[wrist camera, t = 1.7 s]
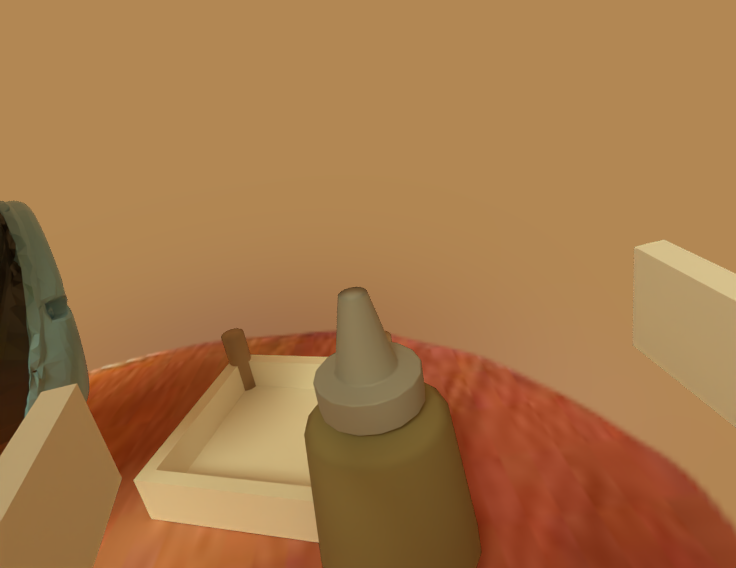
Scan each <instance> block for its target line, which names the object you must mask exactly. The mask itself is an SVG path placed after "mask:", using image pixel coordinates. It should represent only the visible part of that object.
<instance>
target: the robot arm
mask: <svg viewBox="0 0 736 568" xmlns="http://www.w3.org/2000/svg"><path fill="white" fill-rule="evenodd" d="M633 298H634V300H633V346H634V347H636V348H637V349H638V350H639V351H641V352H642V353H643V354H644V355H646V356H647V357H648V358H649V359H651V360H652V361H653V362H654V363H656V364H657V365H658V366H659V367H661V368H662V369H663V370H664V371H666V372H667V373H668V374H669V375H671V376H672V377H673V378H675V379H676V380H677V381H678V382H679V383H681V384H682V385H683V386H684V387H686V388H687V389H688V390H690V391H691V392H692V393H693V394H694V395H696V396H697V397H698V398H699V399H701V400H702V401H703V402H704V403H706V404H707V405H708V406H710V407H711V408H712V409H713V410H714V411H716V412H717V413H718V414H719V415H721V416H722V417H723V418H725V419H726V420H727V421H728V422H729V423H731V424H732V425H733V426H734V427H736V274H735V273H733V272H731V271H729V270H726V269H725V268H722V267H720V266H718V265H716V264H714V263H712V262H710V261H708V260H706V259H704V258H701V257H699V256H697V255H695V254H693V253H691V252H689V251H687V250H685V249H683V248H680V247H678V246H676V245H674V244H672V243H670V242H668V241H666V240H661V241H657V242H652V243H648V244H645V245H640V246H636V247H634V297H633ZM88 395H89V376H88V370H87V365H86V360H85V356H84V352H83V348H82V344H81V340H80V336H79V333H78V329H77V326H76V323H75V320H74V317H73V314H72V312H71V310H70V308H69V307H68V306H67V297H66V294H65V291H64V288H63V283H62V279H61V276H60V274H59V270H58V268H57V265H56V263H55V260H54V257H53V254H52V252H51V249H50V247H49V245H48V242H47V240H46V237H45V235H44V233H43V231H42V228H41V226H40V224H39V222H38V221H37V219H36V217H35V215H34V213H33V212H32V210H31V209H30V208H29V207H28V206H27V205H26V204H24V203H22V202H18V201H8V202H4V201H0V568H93V566H94V563H95V560H96V557H97V554H98V551H99V548H100V545H101V542H102V539H103V535H104V532H105V529H106V526H107V523H108V520H109V517H110V514H111V511H112V508H113V505H114V502H115V498H116V495H117V492H118V489H119V486H120V483H121V480H122V477H121V475H120V473H119V471H118V469H117V466H116V464H115V462H114V460H113V458H112V456H111V454H110V452H109V450H108V448H107V445H106V443H105V441H104V439H103V437H102V435H101V433H100V431H99V429H98V426H97V424H96V422H95V420H94V418H93V416H92V414H91V412H90V410H89V407H88V405H87V403H86V401H87V399H88Z"/></svg>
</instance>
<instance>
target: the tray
mask: <svg viewBox="0 0 736 568" xmlns="http://www.w3.org/2000/svg"><path fill="white" fill-rule="evenodd" d="M385 333H386V336H387V338H388V340H389V342H392V339H391V334H390V333H389V332H387V331H385ZM221 338H222V341H223V345H224V348H225V351H226V354H227V357H228V360H229V364H228V365H227V366H226V367H225V369H224V370H223V371H222V372H221V373H220V375H219V376H218V377H217V378H216V380H215V381H214V382H213V383H212V384H211V386H210V387H209V388H208V389H207V391H206V392H205V393H204V394H203V395H202V397H201V398H200V399H199V400H198V402H197V403H196V404H195V405H194V407H193V408H192V409H191V410H190V411H189V413H188V414H187V415H186V416H185V418H184V419H183V420H182V421H181V422H180V424H179V425H178V426H177V427H176V429H175V430H174V431H173V432H172V433H171V435H170V436H169V437H168V438H167V440H166V441H165V442H164V443H163V444H162V446H161V447H160V448H159V449H158V451H157V452H156V453H155V454H154V455H153V457H152V458H151V459H150V460H149V462H148V463H147V464H146V465H145V466H144V468H143V469H142V470H141V471H140V473H139V474H138V475H137V476H136V478H135V479H134V480H133V481H134V483H135V485H136V487H137V489H138V491H139V494H140V496H141V498H142V500H143V502H144V504H145V506H146V509H147V511H148V513H149V515H150V517H151V519H157V520H164V521H171V522H178V523H185V524H192V525H199V526H206V527H213V528H220V529H227V530H234V531H241V532H248V533H255V534H262V535H269V536H276V537H283V538H290V539H297V540H304V541H311V542H318V543H319V540H318V532H317V525H316V518H315V511H314V503H313V496H312V489H311V482H310V474H309V467H308V460H307V453H306V445H305V438H304V433H305V428H306V424H307V420H308V415H309V414H310V413H311V412H312V410H313V409H314V408H315V407H316V405H317V404H318V401H317V397H316V393H315V389H314V385H313V382H314V377H315V373H316V370H317V369H318V368H319V366H320V365H321V364H322V363H323V362H324V361H325V360H326V358H327V357H315V356H282V355H250V352H249V348H248V345H247V342H246V338H245V335H244V332H243V330H242V329H238V328H237V329H231V330H229V331H226V332H225V333H223V335H222V336H221Z"/></svg>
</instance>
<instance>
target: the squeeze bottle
mask: <svg viewBox="0 0 736 568" xmlns="http://www.w3.org/2000/svg"><path fill="white" fill-rule="evenodd" d="M313 385H314V389H315V393H316V397H317V401H318V404H317V405H316V407H315V408H314V409H313V410H312V412H311V413H310V414H309V415H308V420H307V424H306V428H305V433H304V438H305V445H306V453H307V460H308V467H309V474H310V482H311V489H312V496H313V503H314V511H315V518H316V525H317V532H318V540H319V547H320V554H321V561H322V565H323V568H477V565H478V562H479V559H480V556H481V545H480V538H479V531H478V524H477V520H476V516H475V512H474V508H473V504H472V500H471V496H470V492H469V488H468V484H467V480H466V476H465V472H464V468H463V464H462V459H461V455H460V451H459V447H458V443H457V439H456V435H455V431H454V427H453V423H452V419H451V415H450V411H449V407H448V403H447V402H446V401H445V399H444V398H443V397H442V396H441V394H440V393H439V392H438V391H437V389H436V388H434V387H432V386H430V385H428V384H426V383H424V378H423V371H422V364H421V360H420V359H419V357H418V356H417V355H416V354H415V352H414V351H413V350H411V349H409V348H407V347H405V346H403V345H401V344H398V343H394V342H389V340H388V338H387V336H386V333H385V331H384V329H383V327H382V324H381V322H380V320H379V317H378V315H377V313H376V311H375V308H374V306H373V304H372V302H371V299H370V297H369V295H368V292H367V290H366V289H364V288H361V287H352V288H348V289H345V290H343V291H341V292H340V293H339V294H338V307H337V337H336V353H334V354H332V355H331V356H329V357H327V358H326V360H325V361H324V362H323V363H322V364H321V365H320V366H319V368H318V369H317V370H316V373H315V377H314V382H313Z"/></svg>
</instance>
